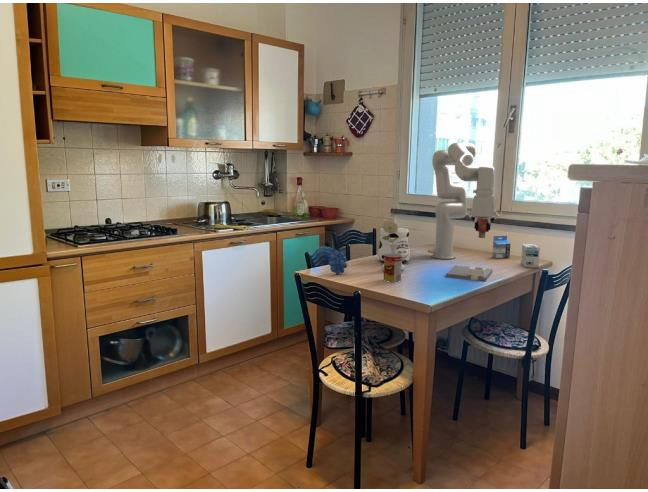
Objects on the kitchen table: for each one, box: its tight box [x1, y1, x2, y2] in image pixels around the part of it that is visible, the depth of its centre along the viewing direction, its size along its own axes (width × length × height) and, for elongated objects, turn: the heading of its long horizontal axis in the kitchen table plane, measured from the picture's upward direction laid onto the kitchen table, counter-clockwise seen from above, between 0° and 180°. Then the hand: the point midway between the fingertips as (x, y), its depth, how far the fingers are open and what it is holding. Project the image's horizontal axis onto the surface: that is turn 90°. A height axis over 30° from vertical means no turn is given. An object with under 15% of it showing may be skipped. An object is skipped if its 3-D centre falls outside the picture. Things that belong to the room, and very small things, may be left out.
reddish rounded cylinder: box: [476, 217, 488, 239], centre depth 225 cm, size 4×4×9 cm
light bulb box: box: [520, 243, 541, 269], centre depth 246 cm, size 11×7×11 cm, turn 169°
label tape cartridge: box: [491, 235, 511, 260], centre depth 265 cm, size 9×4×12 cm, turn 104°
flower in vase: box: [381, 220, 405, 272], centre depth 233 cm, size 13×11×25 cm
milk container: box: [377, 226, 411, 264], centre depth 253 cm, size 17×17×18 cm
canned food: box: [383, 253, 403, 283], centre depth 214 cm, size 8×8×12 cm
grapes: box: [328, 250, 348, 275], centre depth 224 cm, size 12×7×12 cm, turn 133°
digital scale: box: [445, 264, 493, 282], centre depth 227 cm, size 18×20×2 cm
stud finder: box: [468, 266, 487, 277], centre depth 219 cm, size 7×5×3 cm
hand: (482, 230), depth 225 cm, fingers closed on reddish rounded cylinder, 4 cm apart
